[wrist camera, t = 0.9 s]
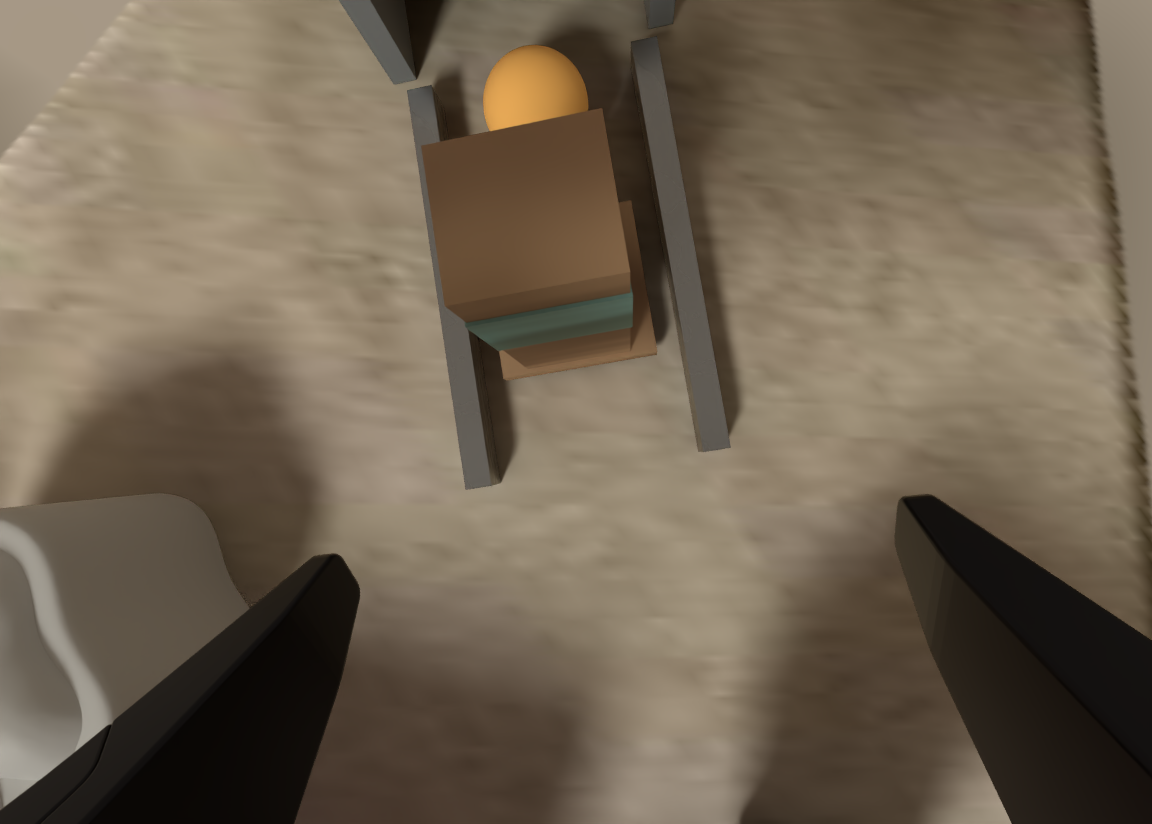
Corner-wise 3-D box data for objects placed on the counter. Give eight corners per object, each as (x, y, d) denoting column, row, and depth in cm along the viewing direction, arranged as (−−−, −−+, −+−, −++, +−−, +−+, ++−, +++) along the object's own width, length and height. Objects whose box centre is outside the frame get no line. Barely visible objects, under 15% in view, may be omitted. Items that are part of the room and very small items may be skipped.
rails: (723, 447, 23) (730, 447, 22) (476, 486, 24) (465, 489, 22) (654, 63, 24) (656, 36, 23) (421, 113, 25) (407, 90, 24)
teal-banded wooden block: (656, 354, 23) (679, 272, 12) (507, 380, 24) (400, 323, 13) (624, 171, 24) (620, -65, 13) (479, 200, 24) (354, -3, 13)
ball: (598, 170, 24) (592, 116, 20) (504, 189, 25) (479, 139, 21) (583, 78, 25) (574, 7, 21) (489, 98, 25) (463, 32, 21)
